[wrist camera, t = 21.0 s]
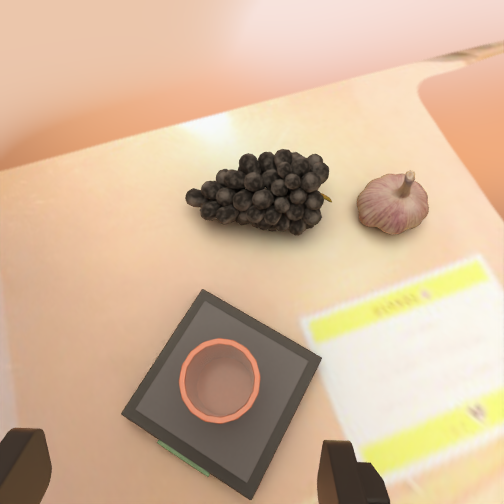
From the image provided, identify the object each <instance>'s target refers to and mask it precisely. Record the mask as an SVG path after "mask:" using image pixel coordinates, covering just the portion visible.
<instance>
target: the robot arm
mask: <svg viewBox="0 0 504 504" xmlns="http://www.w3.org/2000/svg"><path fill="white" fill-rule="evenodd" d="M51 472H52V465H51V461H50V456H49V452H48V447H47V443H46V439H45V434H44V431H43V430H42V429H32V428H13V429H11V430H10V431H9V432H8V433H7V434H6V436H5V437H4V438H3V440H2V441H1V443H0V504H40V502H41V500H42V498H43V496H44V494H45V492H46V490H47V488H48V485H49V482H50V478H51ZM317 491H318V501H319V504H390V499H389V496H388V493H387V490H386V487H385V484H384V481H383V479H382V478H381V476H380V475H379V474H378V472H377V471H376V470H375V468H374V467H373V466H372V464H371V463H365V462H357V461H356V457H355V453H354V449H353V446H352V443H351V442H350V441H336V440H324V441H323V445H322V452H321V458H320V464H319V470H318V478H317Z"/></svg>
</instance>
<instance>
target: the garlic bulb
mask: <svg viewBox="0 0 504 504" xmlns="http://www.w3.org/2000/svg"><path fill="white" fill-rule="evenodd" d="M414 180H415V172H413V171H408V172H406V174H397V175H395V174H386V175H384V176H382V177H381V178H377V179H374V180H372V181H371V182H369V183H368V184H367V186H366V187H365V189H364V191H362V192H361V193H360V195H359V196H358V199H357V207H358V210H359V219H360V221H361V223H362V224H364V225H365V226H368V227H372V226H374V227H378V228H380V229H381V230H382V231H383V232H385V233H388V234H400V233H402V232H404V231H405V230H407V229H411V228H414V227H416V226H418V225H419V224H420V223H421V222H422V220H423V219H424V218H425V217H426V216H427V214H428V210H429V207H428V196H427V193H426V191H425V190H424V189H423V187H422V186H421V185H420V184H419V183H417V182H415V181H414Z"/></svg>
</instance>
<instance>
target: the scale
mask: <svg viewBox="0 0 504 504" xmlns="http://www.w3.org/2000/svg"><path fill="white" fill-rule="evenodd" d="M216 338H222V339H229V340H234V341H236V342H238V343H239V344H241V345H243V346H244V347H246V348H247V349H248V350H249V351H250V353H251V354H252V355H253V357H254V358H255V359H256V361H257V365H258V368H259V372H260V377H261V378H260V387H259V393H258V396H257V397H256V399H255V401H254V403H253V405H252V407H251V408H250V409H249V410H248V411H247V412H246V413H244V414H243V415H242V416H241V417H240V418H238V419H237V420H233V421H230V422H226V423H223V424H218V423H211V422H205V421H203V420H202V419H200V418H198V417H197V416H195V415H194V414H192V413H191V412H190V411H189V409H188V407H187V406H186V404H185V403H184V401H183V400H182V398H181V392H180V387H179V377H180V372H181V367H182V364H183V363H184V361H185V359H186V358H187V356H188V355H189V353H190V352H191V351H192V350H193V349H195V348H196V347H197V346H199V345H200V344H201V343H203V342H205V341H209V340H213V339H216ZM321 359H322V358H321V357H320V356H318V355H316V354H314V353H313V352H311V351H309V350H307V349H306V348H304V347H302V346H301V345H299V344H297V343H295V342H294V341H292V340H290V339H288V338H287V337H285V336H283V335H282V334H280V333H278V332H276V331H275V330H273V329H271V328H269V327H268V326H266V325H264V324H263V323H261V322H259V321H257V320H256V319H254V318H252V317H250V316H249V315H247V314H245V313H244V312H242V311H240V310H238V309H237V308H235V307H233V306H231V305H230V304H228V303H226V302H225V301H223V300H221V299H219V298H218V297H216V296H214V295H212V294H211V293H209V292H207V291H206V290H204V289H202V290H201V292H200V293H199V295H198V296H197V298H196V299H195V301H194V302H193V304H192V305H191V307H190V309H189V310H188V312H187V313H186V315H185V316H184V318H183V319H182V321H181V322H180V324H179V325H178V327H177V329H176V330H175V332H174V333H173V335H172V336H171V338H170V339H169V341H168V342H167V344H166V345H165V347H164V349H163V350H162V352H161V353H160V355H159V356H158V358H157V359H156V361H155V362H154V364H153V365H152V367H151V368H150V370H149V372H148V373H147V375H146V376H145V378H144V379H143V381H142V382H141V384H140V385H139V387H138V388H137V390H136V392H135V393H134V395H133V396H132V398H131V399H130V401H129V402H128V404H127V405H126V407H125V408H124V410H123V411H122V413H121V414H122V415H123V416H124V417H126V418H127V419H129V420H130V421H132V422H133V423H135V424H136V425H138V426H139V427H141V428H142V429H144V430H145V431H147V432H148V433H150V434H151V435H153V436H154V437H156V438H157V439H159V440H158V442H157V443H158V444H159V445H161V446H162V447H164V448H165V449H167V450H168V451H170V452H171V453H173V454H174V455H176V456H177V457H179V458H180V459H182V460H183V461H185V462H186V463H188V464H189V465H191V466H192V467H194V468H195V469H197V470H198V471H200V472H201V473H203V474H204V475H206V476H207V477H209V475H210V474H212V475H213V476H215V477H216V478H218V479H219V480H221V481H222V482H224V483H225V484H227V485H228V486H230V487H231V488H233V489H234V490H236V491H237V492H239V493H240V494H242V495H243V496H245V497H246V498H248V499H249V500H252V498H253V496H254V494H255V492H256V490H257V488H258V486H259V484H260V482H261V480H262V478H263V476H264V474H265V472H266V470H267V468H268V466H269V464H270V462H271V460H272V458H273V456H274V454H275V452H276V450H277V448H278V446H279V444H280V442H281V440H282V438H283V436H284V434H285V432H286V430H287V428H288V426H289V424H290V422H291V420H292V418H293V416H294V414H295V412H296V410H297V408H298V406H299V404H300V402H301V400H302V398H303V396H304V394H305V392H306V390H307V388H308V386H309V383H310V381H311V379H312V377H313V375H314V373H315V371H316V369H317V367H318V365H319V363H320V361H321Z"/></svg>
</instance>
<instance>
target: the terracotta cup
mask: <svg viewBox="0 0 504 504" xmlns="http://www.w3.org/2000/svg"><path fill="white" fill-rule="evenodd" d="M260 378H261V377H260V372H259V368H258V365H257V361H256V359H255V358H254V357H253V355H252V354H251V353H250V351H249V350H248V349H247V348H246V347H244V346H243V345H241V344H239V343H238V342H236V341H234V340H229V339H222V338H216V339H213V340H209V341H205V342H203V343H201V344H200V345H199V346H197V347H196V348H195V349H193V350H192V351H191V352H190V353H189V355H188V356H187V358H186V359H185V361H184V363H183V364H182V367H181V372H180V377H179V387H180V392H181V398H182V400H183V401H184V403H185V404H186V406H187V407H188V409H189V411H190V412H191V413H192V414H194V415H195V416H197V417H198V418H200V419H202V420H203V421H205V422H211V423H218V424H223V423H226V422H230V421H233V420H237V419H238V418H240V417H241V416H242V415H243V414H244V413H246V412H247V411H248V410H249V409H250V408H251V407H252V405H253V403H254V401H255V399H256V397H257V396H258V393H259V387H260Z"/></svg>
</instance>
